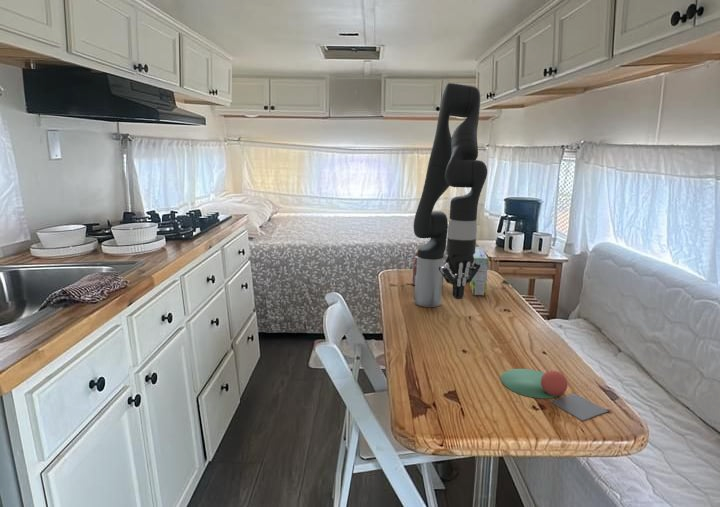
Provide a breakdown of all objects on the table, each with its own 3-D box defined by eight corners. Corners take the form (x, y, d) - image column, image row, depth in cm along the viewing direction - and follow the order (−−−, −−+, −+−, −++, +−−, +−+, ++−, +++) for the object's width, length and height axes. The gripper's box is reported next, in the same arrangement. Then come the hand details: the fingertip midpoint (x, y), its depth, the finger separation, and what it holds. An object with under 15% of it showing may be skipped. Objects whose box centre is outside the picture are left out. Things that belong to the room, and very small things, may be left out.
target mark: (488, 376, 111) (488, 375, 111) (530, 365, 117) (530, 364, 117) (533, 404, 99) (533, 403, 99) (577, 390, 105) (577, 389, 105)
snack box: (466, 280, 196) (469, 246, 192) (480, 281, 195) (482, 246, 192) (471, 295, 175) (474, 257, 172) (486, 296, 174) (489, 258, 171)
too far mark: (550, 402, 100) (550, 401, 100) (575, 394, 104) (575, 393, 104) (582, 421, 93) (582, 420, 93) (607, 411, 97) (608, 410, 97)
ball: (541, 399, 103) (532, 375, 105) (557, 393, 106) (548, 369, 107) (559, 397, 98) (549, 372, 100) (576, 390, 101) (566, 366, 102)
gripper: (471, 232, 128) (467, 291, 132) (433, 235, 122) (429, 297, 126) (490, 237, 122) (485, 299, 125) (450, 240, 116) (446, 305, 119)
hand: (457, 298), depth 126 cm, fingers closed
